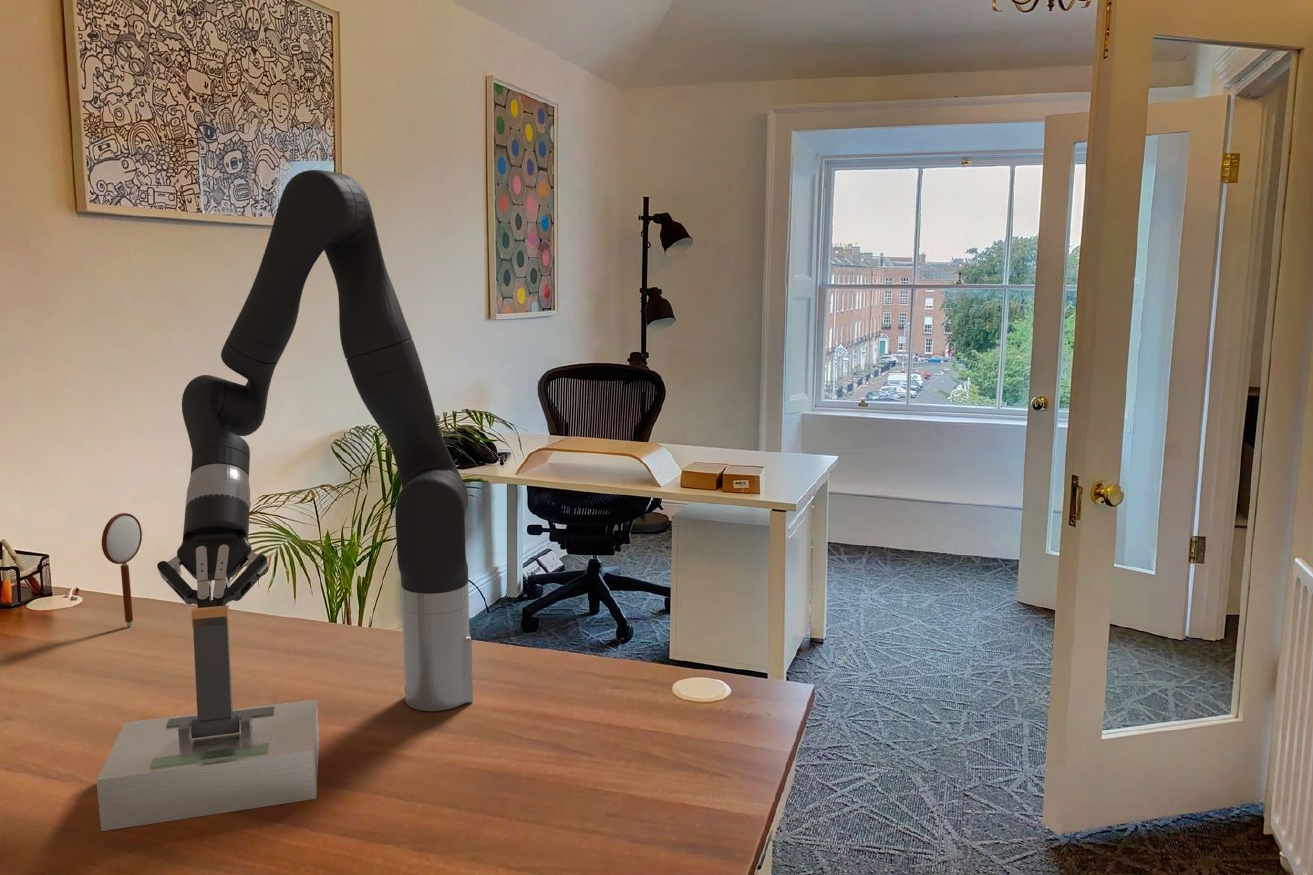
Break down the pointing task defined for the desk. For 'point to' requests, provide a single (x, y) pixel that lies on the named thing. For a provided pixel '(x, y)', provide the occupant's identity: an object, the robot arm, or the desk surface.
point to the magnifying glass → (122, 551)
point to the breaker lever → (213, 673)
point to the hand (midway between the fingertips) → (210, 631)
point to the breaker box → (209, 766)
